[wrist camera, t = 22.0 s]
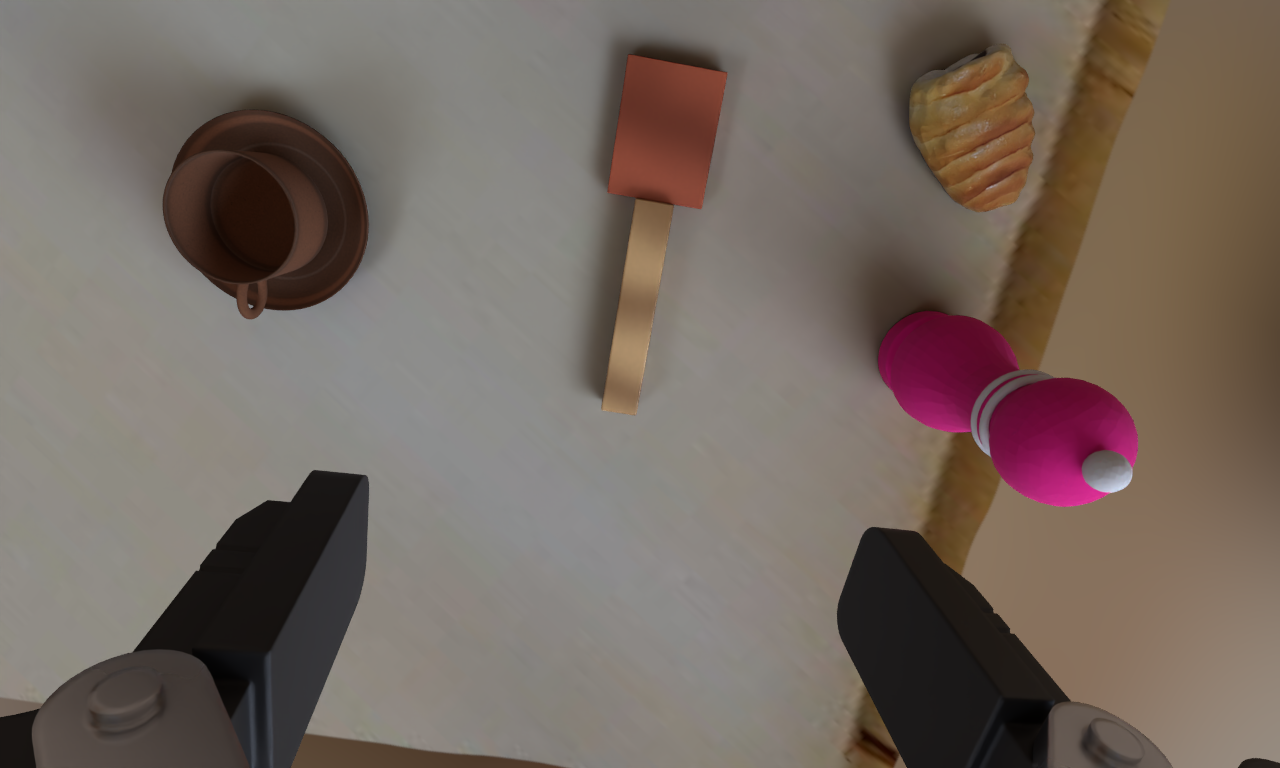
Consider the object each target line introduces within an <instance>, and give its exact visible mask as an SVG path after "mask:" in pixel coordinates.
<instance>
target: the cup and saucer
mask: <svg viewBox="0 0 1280 768" xmlns="http://www.w3.org/2000/svg"><path fill="white" fill-rule="evenodd" d="M163 215H164V221H165V224H166V228H167V231H168V233H169V235H170V237H171V239H172V241H173V243H174V245H175V246H176V248H177V249H178V251H179V252H180V253H181V255H182V256H183V257H184V258H185V259H186V260H187V261H188V262H189V263H190V264H191V265H192V266H194V267H195V268H196V269H198V270H199V271H200V272H201V273H202V274H203V275H204V276H205V277H206V278H208V279H209V280H210V281H211V282H212V283H213V284H214V285H216V286H217V287H218V288H220V289H221V290H222V291H224V292H225V293H227V294H229V295H230V296H232V297H234V298H236V299H237V306H238V309H239V312H240V313H241V315H242V316H243V317H244V318H246V319H254V318H256V317H258V316H259V315H260V314H261V312H262V311H263V309H264V308H265V309H271V310H296V309H302V308H307V307H310V306H313V305H316V304H319V303H321V302H323V301H325V300H327V299H328V298H330V297H332V296H333V295H334V294H336V293H337V292H338V291H340V290H341V289H342V288H343V287H344V286H345V285H346V284H347V282H348V281H349V280H350V279H351V278H352V276H353V275H354V273H355V272H356V270H357V269H358V267H359V265H360V263H361V261H362V258H363V255H364V253H365V249H366V245H367V239H368V228H369V223H368V211H367V205H366V201H365V197H364V194H363V191H362V188H361V185H360V183H359V181H358V179H357V177H356V175H355V173H354V171H353V169H352V168H351V166H350V165H349V163H348V162H347V160H346V159H345V158H344V156H343V155H342V154H341V153H340V151H339V150H338V149H337V148H336V147H335V146H334V145H333V144H332V143H331V142H330V141H328V140H327V139H326V138H325V137H324V136H323V135H321V134H320V133H318V132H317V131H316V130H314V129H313V128H311V127H309V126H308V125H306V124H304V123H302V122H300V121H298V120H296V119H294V118H291V117H289V116H286V115H283V114H280V113H276V112H271V111H265V110H241V111H234V112H230V113H226V114H223V115H221V116H218V117H216V118H214V119H212V120H210V121H208V122H207V123H205V124H204V125H202V126H201V127H200V128H198V129H197V130H196V131H195V132H194V133H193V134H192V135H191V136H190V137H189V138H188V139H187V141H186V142H185V144H184V145H183V146H182V148H181V150H180V152H179V153H178V155H177V158H176V160H175V163H174V166H173V169H172V173H171V175H170V177H169V179H168V181H167V184H166V187H165V190H164V195H163ZM248 304H250V305H253V306H254V307H253V308H251V309H250V308H249V306H248Z"/></svg>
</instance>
